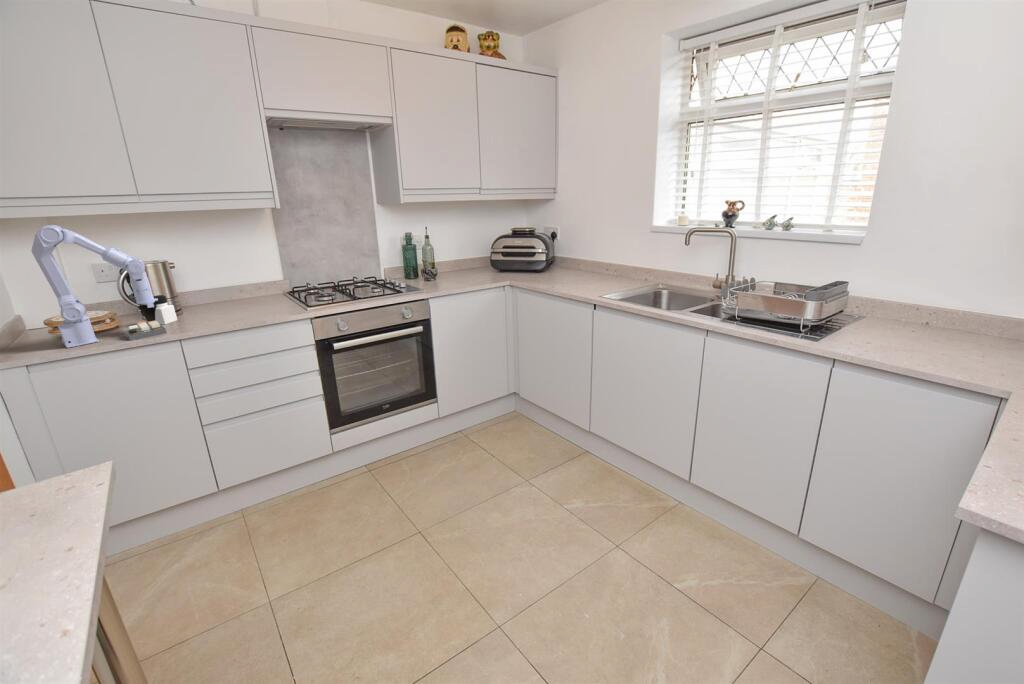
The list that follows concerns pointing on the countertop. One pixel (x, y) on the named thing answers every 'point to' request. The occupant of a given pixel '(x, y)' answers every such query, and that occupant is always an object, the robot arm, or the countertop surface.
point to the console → (144, 332)
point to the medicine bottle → (164, 311)
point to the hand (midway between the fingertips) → (151, 322)
